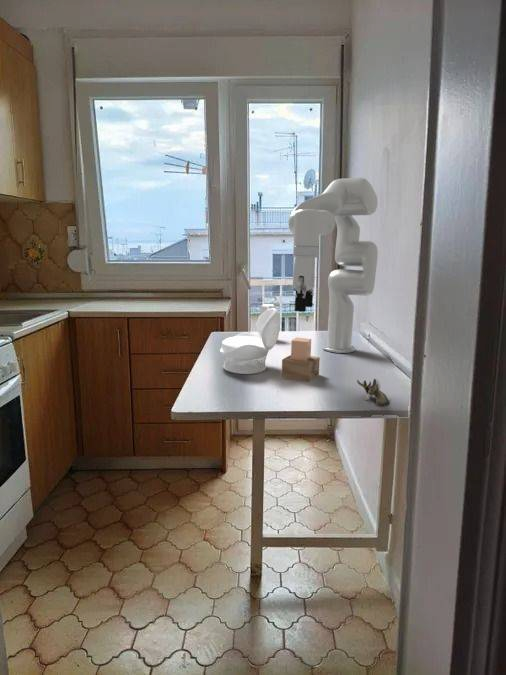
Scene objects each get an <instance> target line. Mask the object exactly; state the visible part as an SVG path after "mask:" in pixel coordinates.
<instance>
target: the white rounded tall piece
mask: <svg viewBox="0 0 506 675" xmlns="http://www.w3.org/2000/svg"><path fill="white" fill-rule="evenodd" d="M271 308H275V309H276V310H277V306H276V304H273V303H271V304H269V303H263V304H260V308H259V316H260V315H261V314H262V313H263V312H265V311H266V310H268V309H271ZM271 312H272V311H271ZM270 314H271V313H270ZM263 317H264V316H263ZM273 317H274V316H273ZM265 319H266V318H265V317H264V320H265ZM265 322H267V320H265ZM262 323H263V321H262ZM264 324H265V323H264ZM260 325H262V324H260ZM261 329H262V328H261ZM267 331H268V330H267ZM259 338H261V337H260V336H259Z"/></svg>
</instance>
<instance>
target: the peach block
mask: <svg viewBox="0 0 506 675" xmlns="http://www.w3.org/2000/svg"><path fill="white" fill-rule="evenodd" d="M290 349H291V351H290V352H291V353H290V355H291V359H292V360H301V361H307V360H308V359H309V358H310V357H311V356H312V354H311V353H312V338H306V337H294V338H293V339H292V340H291V348H290Z"/></svg>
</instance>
